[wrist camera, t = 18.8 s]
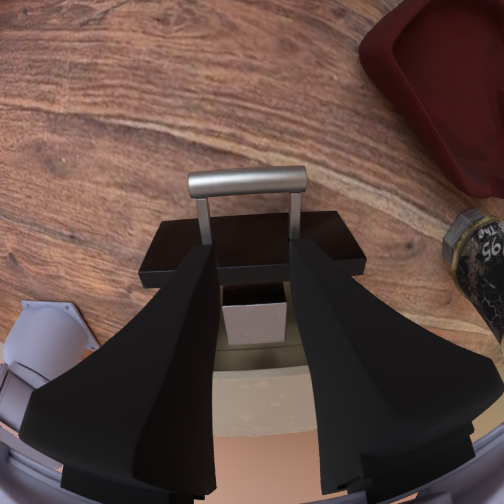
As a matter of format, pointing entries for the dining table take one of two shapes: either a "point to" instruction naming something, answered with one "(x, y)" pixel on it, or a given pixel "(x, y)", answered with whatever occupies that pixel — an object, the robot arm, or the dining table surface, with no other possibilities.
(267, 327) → the steel block
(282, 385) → the cabinet
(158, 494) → the robot arm
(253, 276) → the drawer
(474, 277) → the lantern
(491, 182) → the ashtray
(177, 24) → the dining table surface
